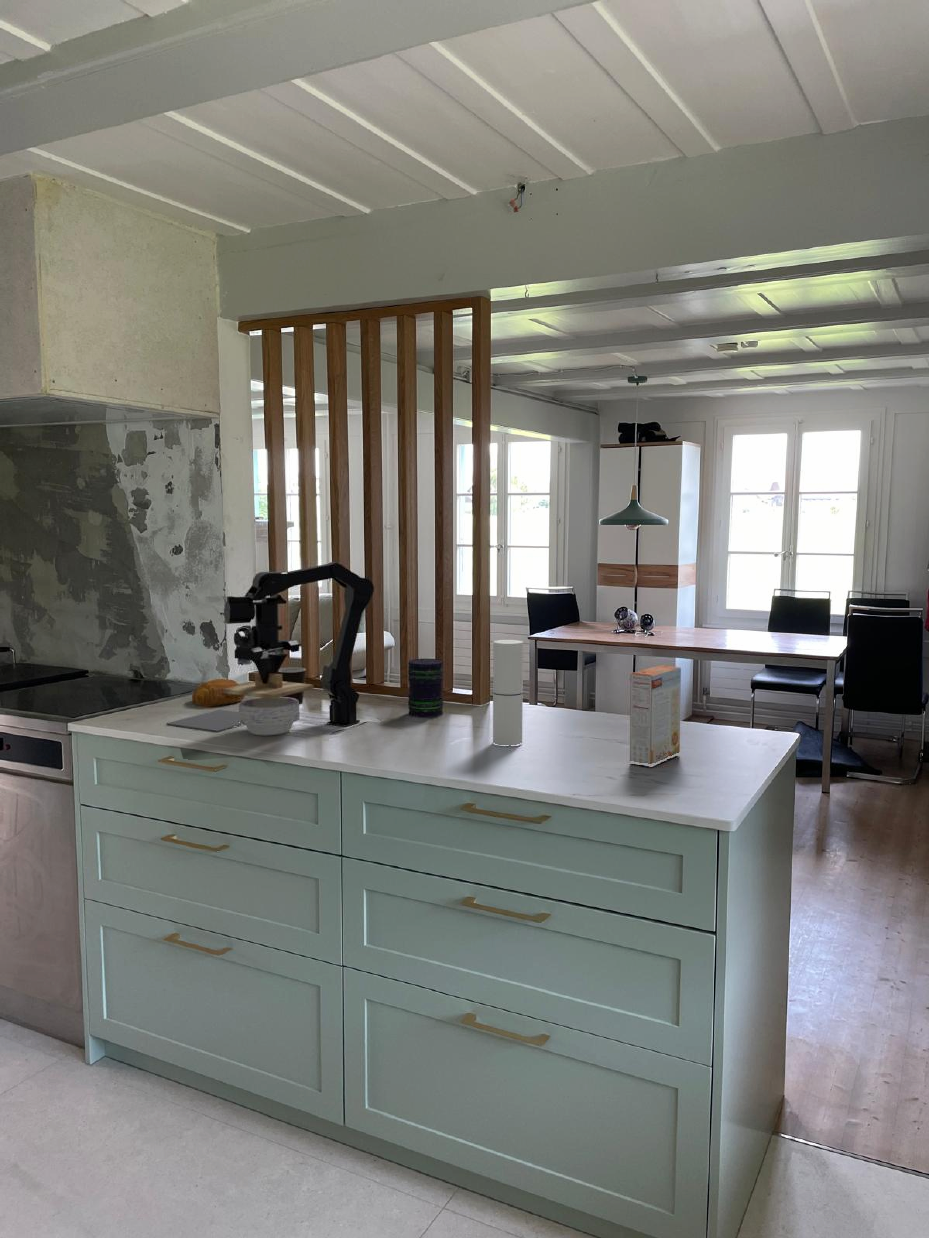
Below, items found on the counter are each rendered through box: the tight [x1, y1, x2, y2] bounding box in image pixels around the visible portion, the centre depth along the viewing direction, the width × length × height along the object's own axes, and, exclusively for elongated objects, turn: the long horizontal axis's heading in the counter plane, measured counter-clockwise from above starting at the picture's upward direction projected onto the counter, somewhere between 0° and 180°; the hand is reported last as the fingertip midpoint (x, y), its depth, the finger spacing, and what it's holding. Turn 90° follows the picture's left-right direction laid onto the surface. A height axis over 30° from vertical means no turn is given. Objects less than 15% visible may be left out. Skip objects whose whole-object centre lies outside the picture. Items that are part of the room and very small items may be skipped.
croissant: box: [191, 678, 245, 708], centre depth 276 cm, size 14×16×8 cm
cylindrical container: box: [492, 639, 524, 746], centre depth 225 cm, size 7×7×25 cm
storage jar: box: [407, 658, 444, 719], centre depth 259 cm, size 10×10×15 cm
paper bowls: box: [238, 697, 301, 736], centre depth 237 cm, size 15×15×8 cm
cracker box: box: [629, 664, 682, 764], centre depth 210 cm, size 14×6×21 cm, turn 141°
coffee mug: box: [277, 667, 307, 706], centre depth 275 cm, size 12×9×10 cm
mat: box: [165, 709, 241, 733], centre depth 250 cm, size 18×20×1 cm
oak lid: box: [223, 672, 314, 699], centre depth 236 cm, size 16×16×4 cm
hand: (268, 682), depth 237 cm, fingers closed on oak lid, 2 cm apart
